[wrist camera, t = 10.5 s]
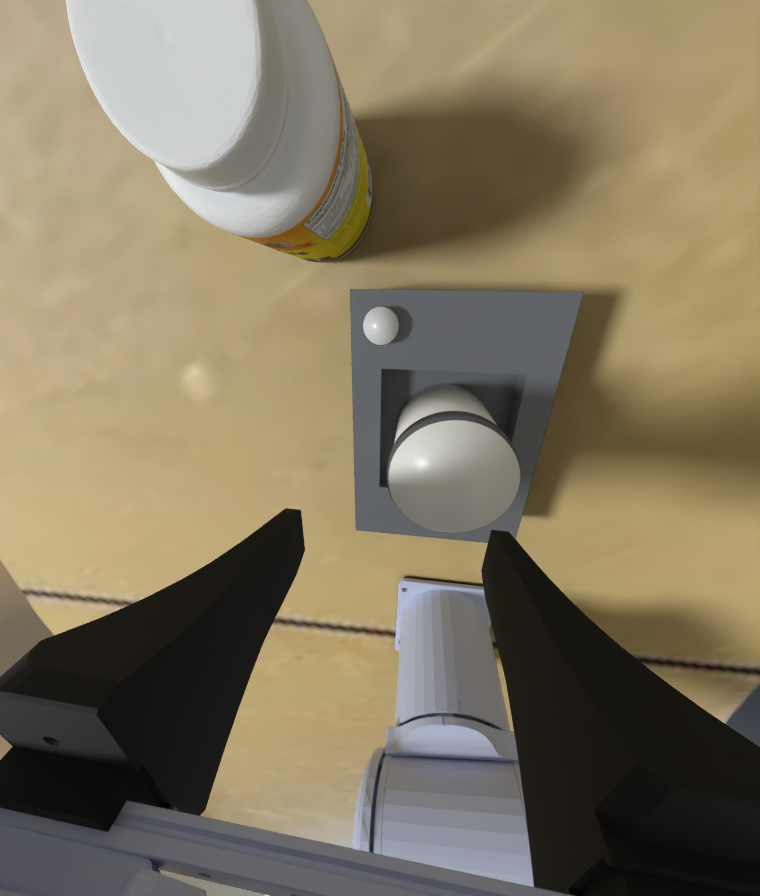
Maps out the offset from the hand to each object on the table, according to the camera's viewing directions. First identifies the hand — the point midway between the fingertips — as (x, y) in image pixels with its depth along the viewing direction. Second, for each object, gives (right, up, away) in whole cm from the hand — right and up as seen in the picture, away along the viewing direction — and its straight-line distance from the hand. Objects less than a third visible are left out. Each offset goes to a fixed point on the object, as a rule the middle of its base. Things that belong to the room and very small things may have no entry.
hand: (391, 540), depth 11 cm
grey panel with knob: (+3, +5, +7) cm, 10 cm away
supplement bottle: (-3, +16, +4) cm, 17 cm away
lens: (+3, +5, +6) cm, 8 cm away
